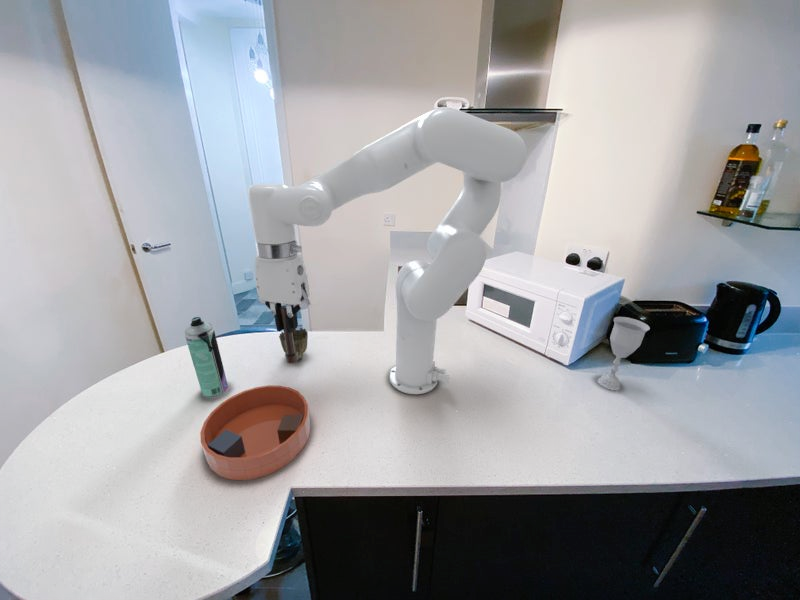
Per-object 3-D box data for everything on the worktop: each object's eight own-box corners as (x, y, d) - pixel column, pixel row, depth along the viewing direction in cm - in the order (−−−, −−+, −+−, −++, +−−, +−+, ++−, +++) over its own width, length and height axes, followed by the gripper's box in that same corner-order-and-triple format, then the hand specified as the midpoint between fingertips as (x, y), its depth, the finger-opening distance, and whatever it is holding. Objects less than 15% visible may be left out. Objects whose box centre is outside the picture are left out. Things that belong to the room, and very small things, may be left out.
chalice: (589, 383, 83) (610, 323, 75) (596, 372, 87) (616, 314, 80) (622, 396, 78) (647, 334, 71) (627, 384, 83) (651, 324, 75)
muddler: (300, 357, 75) (293, 305, 69) (294, 364, 73) (286, 310, 67) (290, 355, 76) (282, 303, 70) (283, 362, 73) (274, 308, 67)
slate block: (245, 451, 60) (241, 436, 59) (227, 468, 57) (223, 453, 55) (230, 444, 62) (226, 429, 60) (212, 460, 58) (207, 445, 57)
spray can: (233, 387, 78) (216, 315, 69) (215, 402, 73) (194, 326, 65) (216, 382, 79) (197, 311, 71) (197, 396, 74) (174, 321, 66)
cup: (313, 351, 93) (311, 327, 89) (304, 366, 86) (301, 341, 83) (289, 349, 93) (286, 326, 90) (278, 364, 87) (274, 339, 83)
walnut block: (305, 429, 66) (303, 414, 64) (300, 445, 62) (298, 430, 60) (286, 429, 65) (283, 414, 64) (279, 445, 62) (277, 430, 60)
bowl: (326, 413, 70) (324, 394, 68) (275, 494, 53) (270, 472, 51) (251, 397, 75) (247, 378, 72) (182, 467, 57) (174, 446, 55)
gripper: (321, 248, 65) (327, 326, 72) (254, 241, 68) (266, 317, 75) (303, 258, 58) (311, 343, 66) (229, 250, 61) (245, 332, 69)
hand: (287, 328), depth 70 cm, fingers closed on muddler
